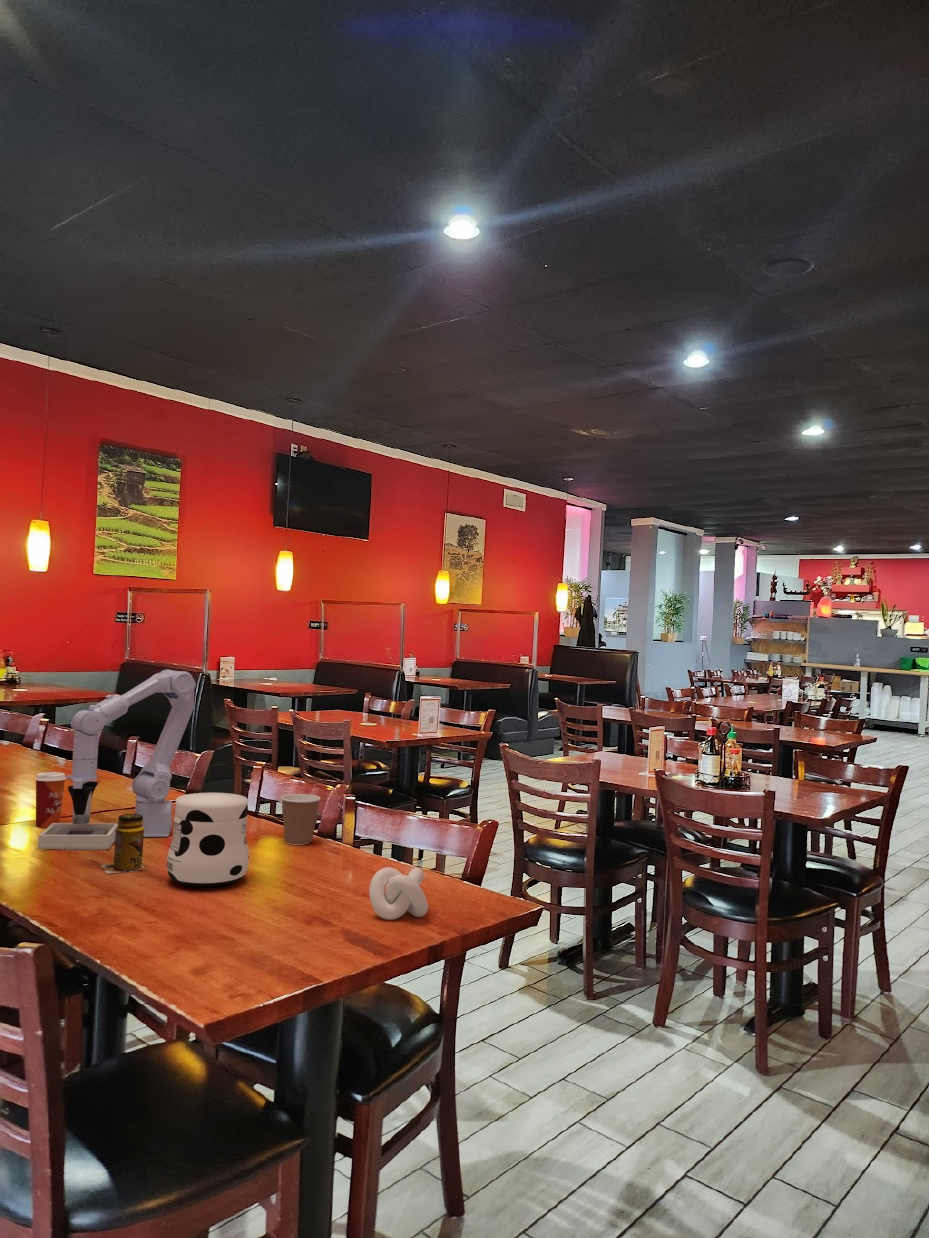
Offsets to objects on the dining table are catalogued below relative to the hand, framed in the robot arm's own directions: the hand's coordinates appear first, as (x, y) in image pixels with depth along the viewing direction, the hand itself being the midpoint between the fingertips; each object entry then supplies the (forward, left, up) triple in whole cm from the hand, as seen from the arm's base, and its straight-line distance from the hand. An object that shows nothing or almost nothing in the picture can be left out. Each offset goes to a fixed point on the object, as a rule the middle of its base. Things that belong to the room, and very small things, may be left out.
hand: (81, 812), depth 214 cm
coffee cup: (-54, 0, -8) cm, 55 cm away
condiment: (-14, +24, -8) cm, 29 cm away
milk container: (-33, +35, -8) cm, 49 cm away
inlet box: (0, 0, -8) cm, 8 cm away
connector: (0, 0, -2) cm, 2 cm away
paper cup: (+12, -20, -8) cm, 25 cm away
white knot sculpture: (-71, +61, -8) cm, 94 cm away
